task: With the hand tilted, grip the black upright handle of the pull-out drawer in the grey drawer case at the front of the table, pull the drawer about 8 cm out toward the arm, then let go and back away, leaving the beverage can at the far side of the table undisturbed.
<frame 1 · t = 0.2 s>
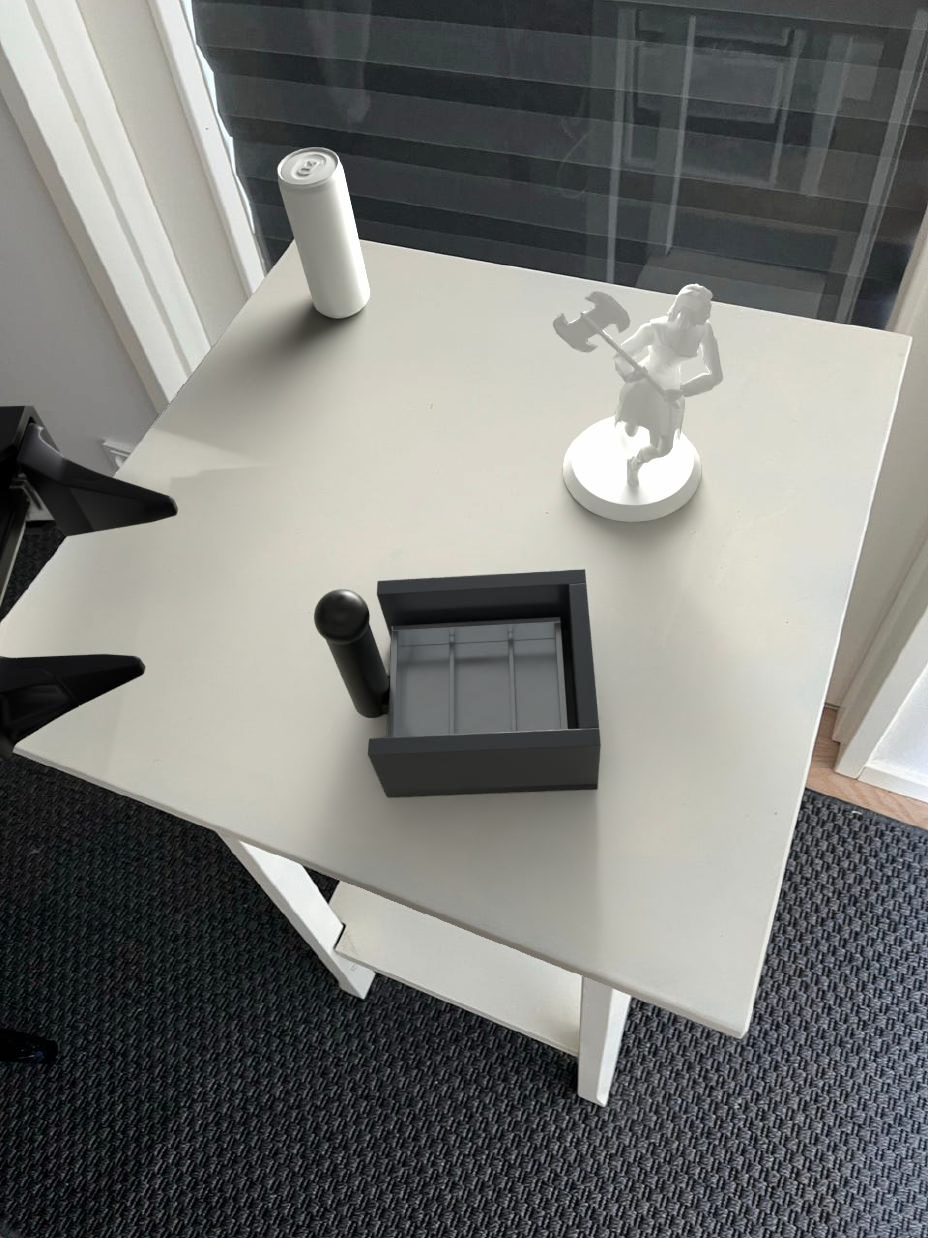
hand: (159, 581, 44), 15 cm above the table, tool horizontal, fingers open, 9 cm apart
grey drawer case: (489, 707, 56), on the table
beverage can: (343, 304, 77), on the table
pull-out drawer: (447, 652, 50), point 7 cm above the table, slide at 0.0 cm
figurine: (628, 469, 65), on the table
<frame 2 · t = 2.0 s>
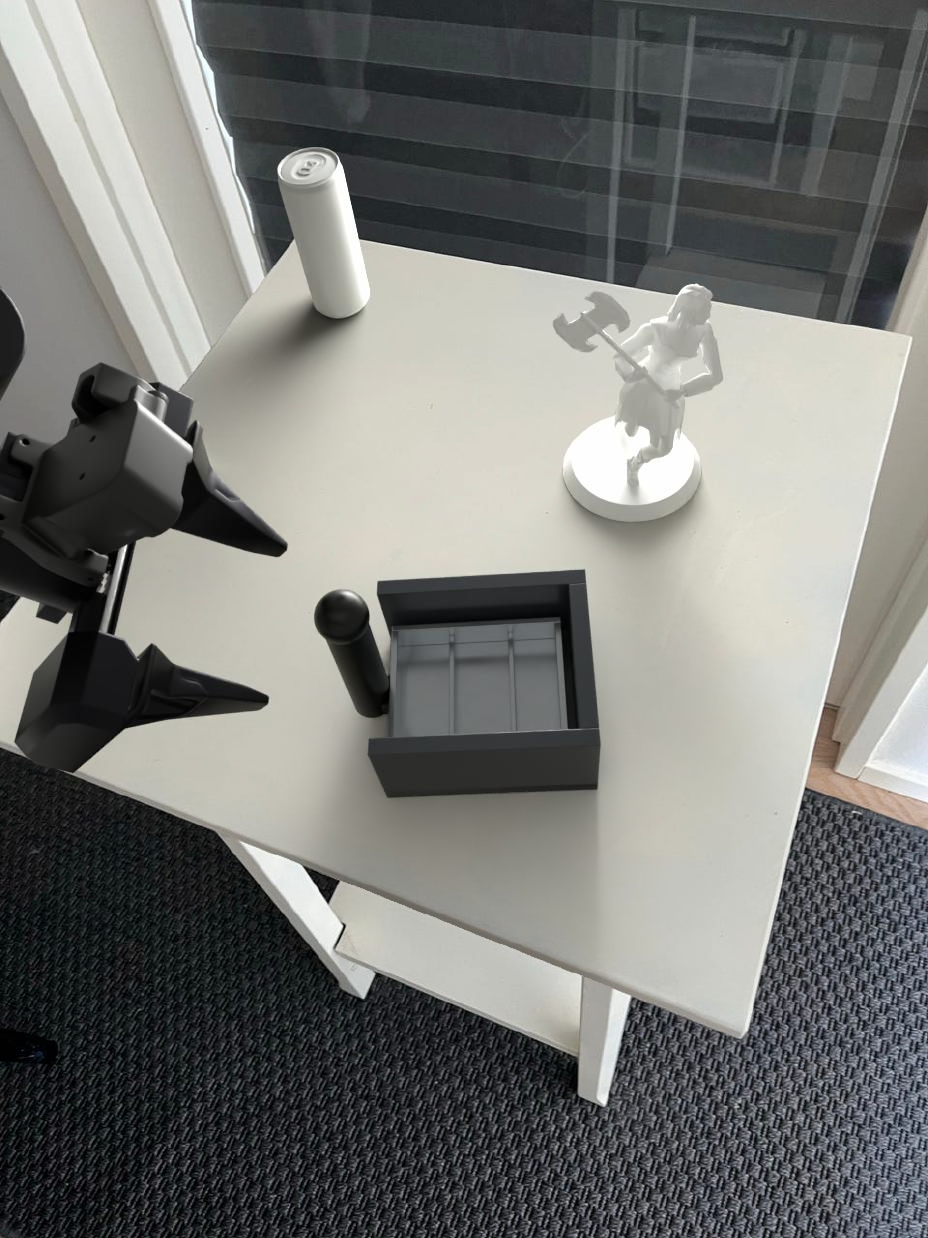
hand: (275, 623, 47), 11 cm above the table, tool tilted 45°, fingers open, 9 cm apart
nothing on the table moved.
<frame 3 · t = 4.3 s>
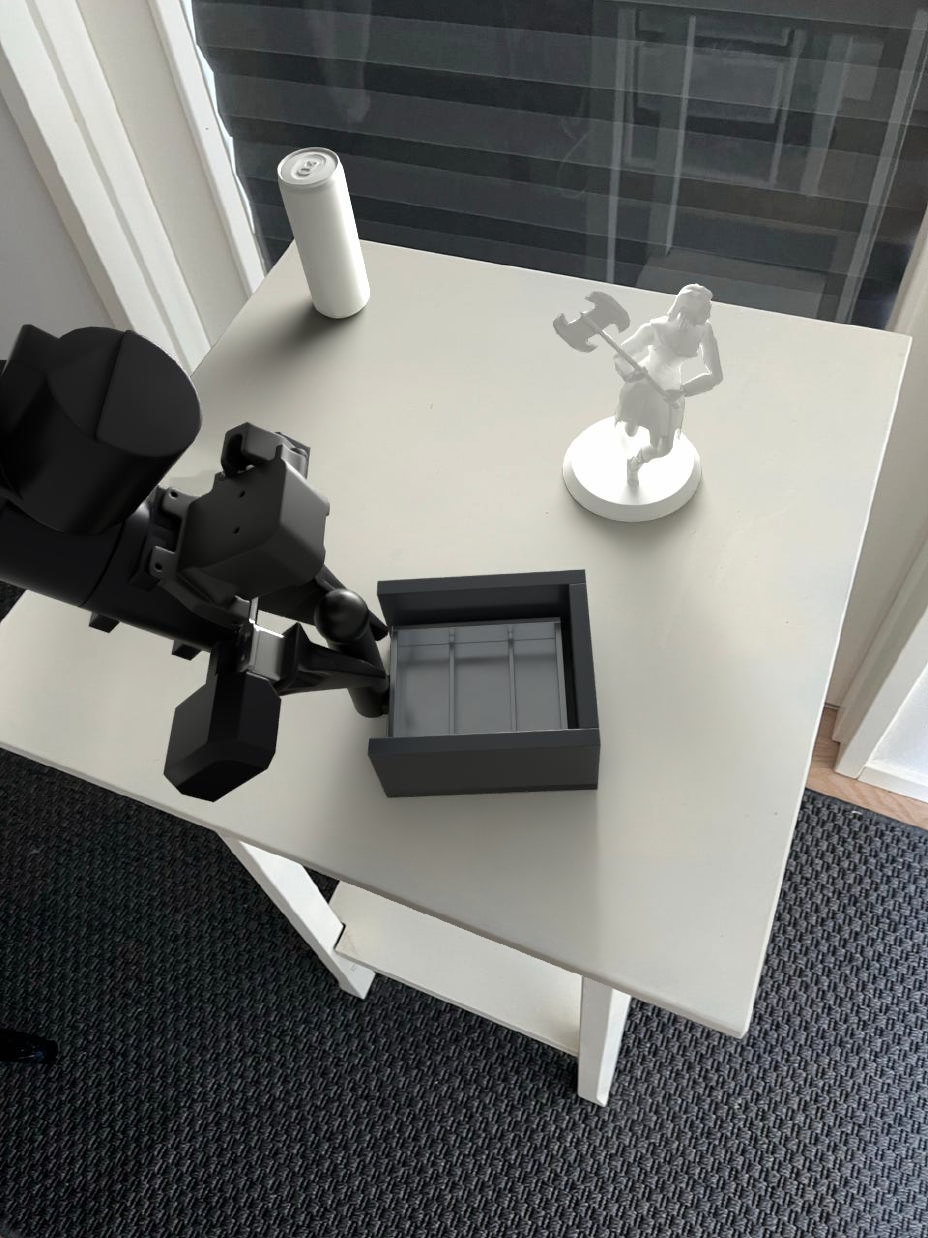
hand: (383, 657, 50), 7 cm above the table, tool tilted 45°, fingers closed on pull-out drawer, 2 cm apart
pull-out drawer: (447, 652, 50), point 7 cm above the table, slide at 0.0 cm, touching gripper
everything else where it was.
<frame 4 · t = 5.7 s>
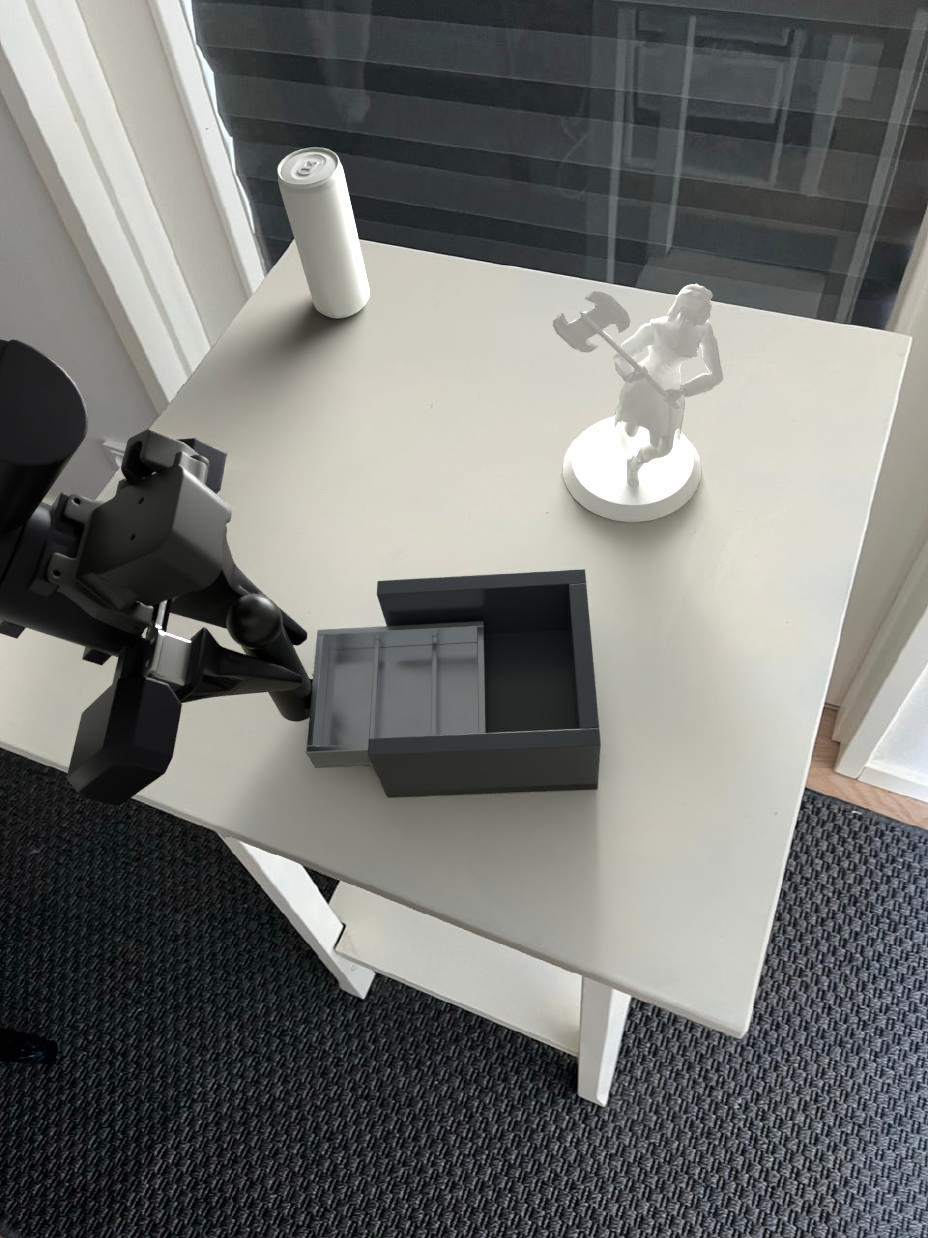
hand: (301, 661, 51), 7 cm above the table, tool tilted 45°, fingers closed on pull-out drawer, 2 cm apart
pull-out drawer: (364, 656, 50), point 7 cm above the table, slide at 4.5 cm, touching gripper
everything else where it was.
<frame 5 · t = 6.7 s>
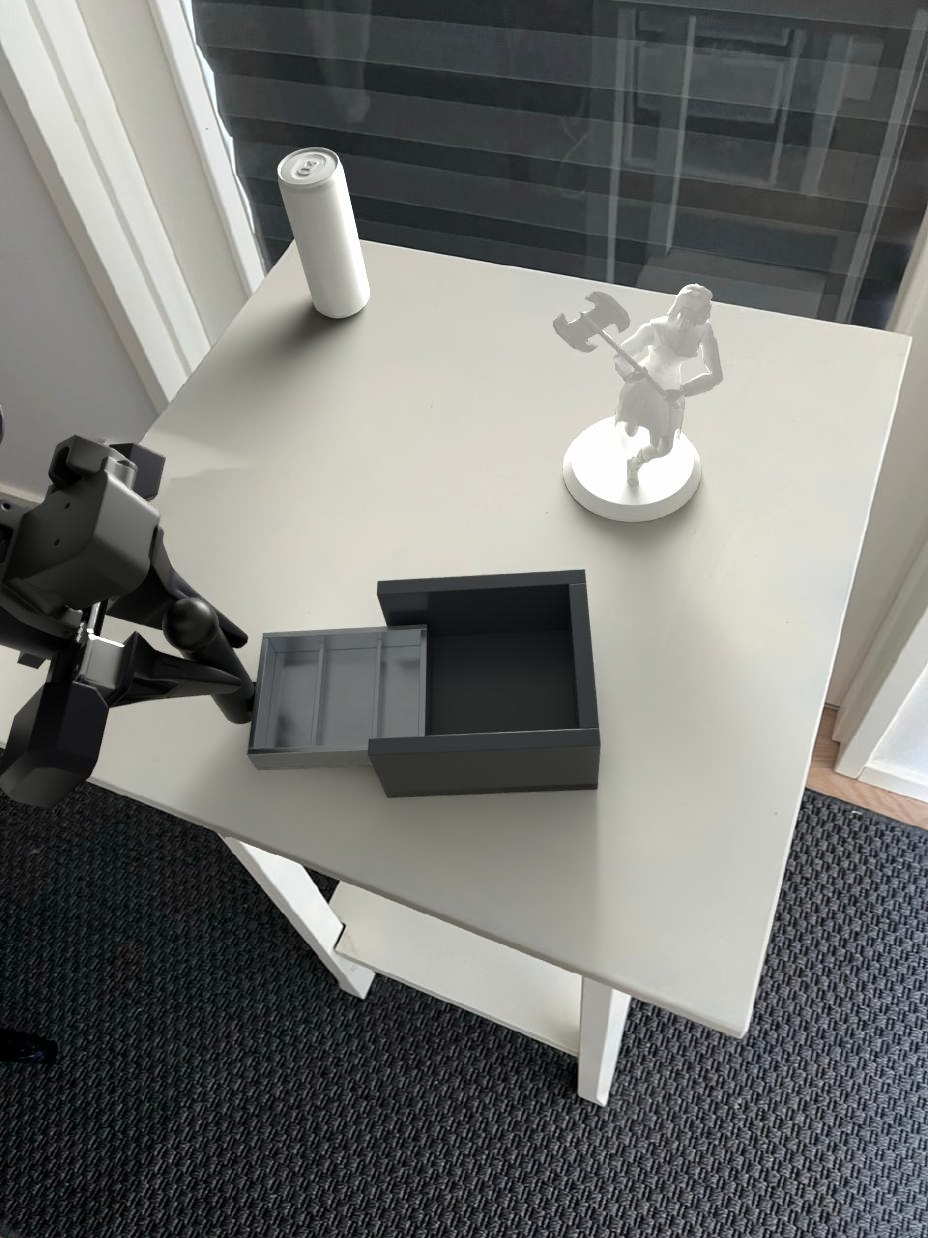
hand: (241, 664, 51), 7 cm above the table, tool tilted 45°, fingers closed on pull-out drawer, 2 cm apart
pull-out drawer: (303, 660, 51), point 7 cm above the table, slide at 7.9 cm, touching gripper
everything else where it was.
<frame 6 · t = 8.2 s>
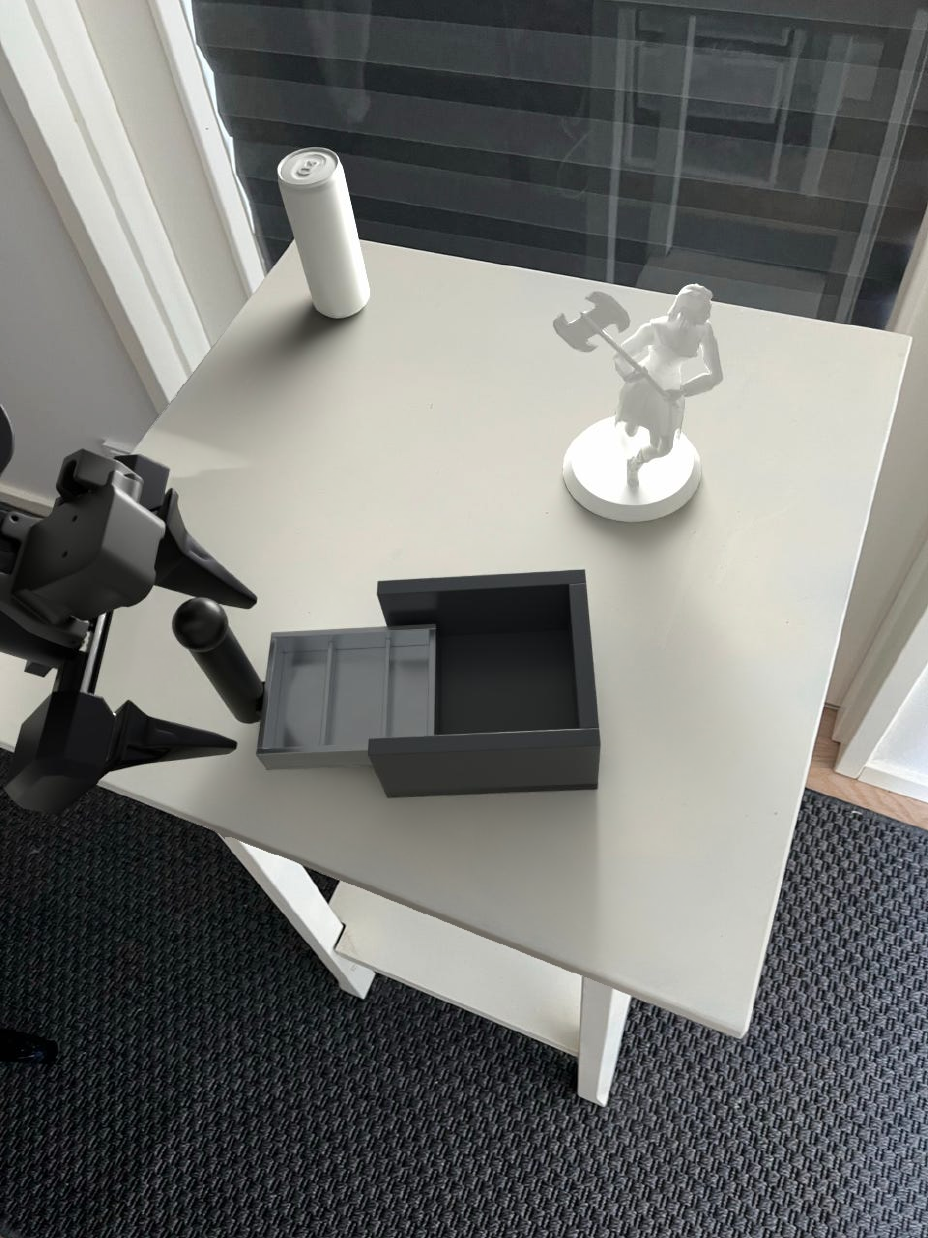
hand: (244, 672, 52), 6 cm above the table, tool tilted 45°, fingers open, 9 cm apart
pull-out drawer: (313, 659, 51), point 7 cm above the table, slide at 7.4 cm
everything else where it was.
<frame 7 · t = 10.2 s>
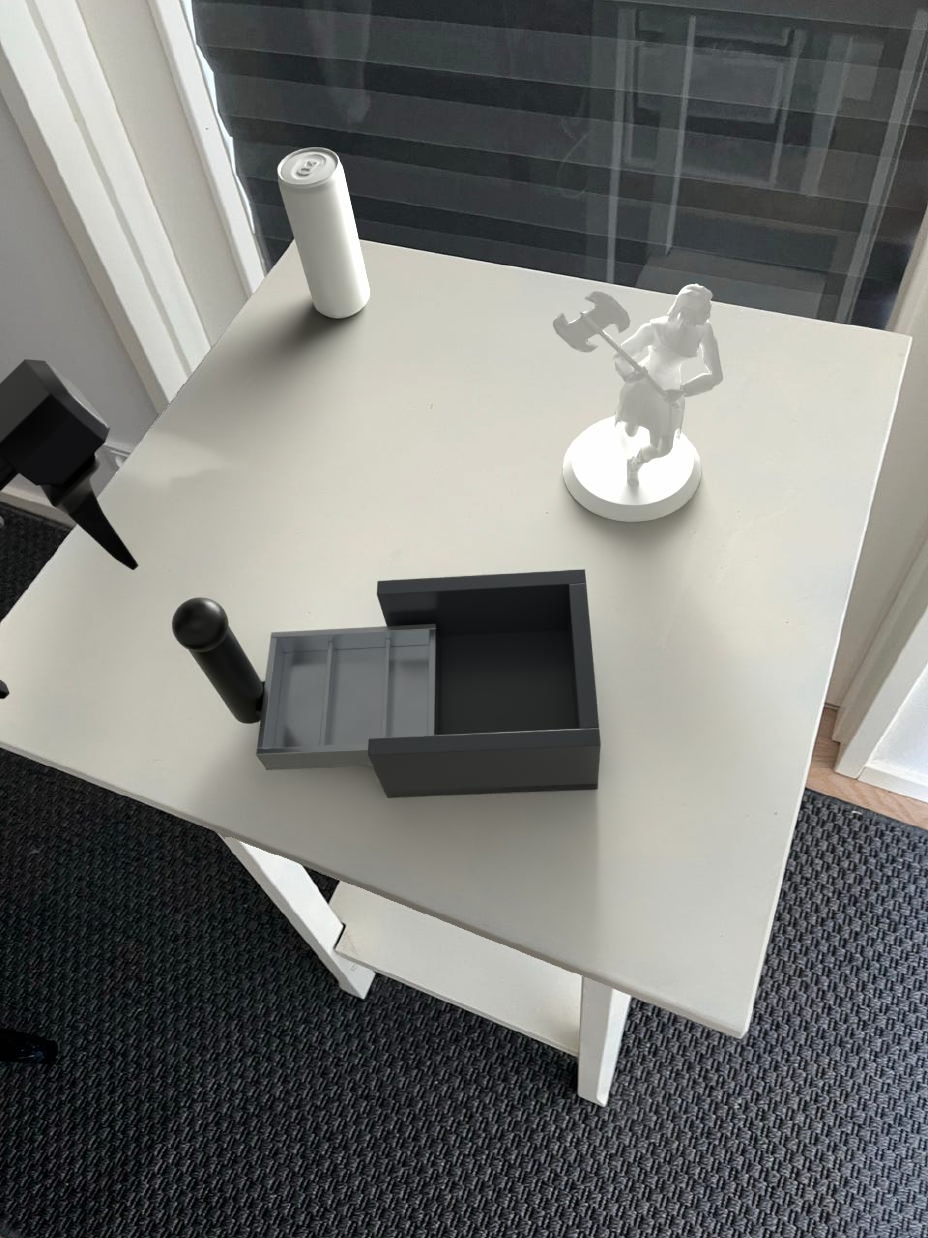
hand: (70, 627, 48), 11 cm above the table, tool tilted 20°, fingers open, 9 cm apart
nothing on the table moved.
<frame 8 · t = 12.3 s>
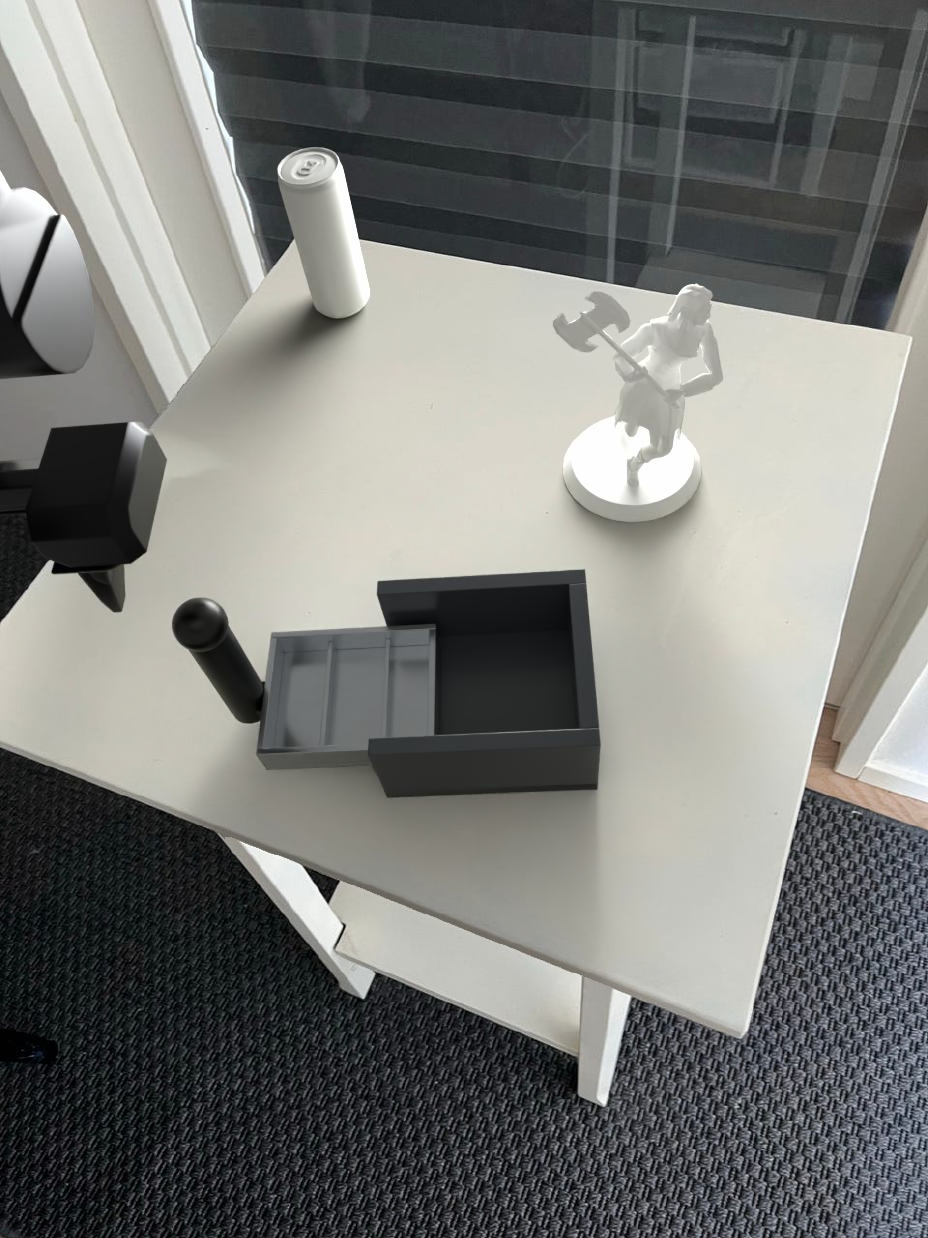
hand: (31, 610, 46), 13 cm above the table, tool pointing down, fingers open, 9 cm apart
nothing on the table moved.
at the end: pull-out drawer slide at 7.4 cm; the gripper is holding nothing; beverage can moved 0.2 cm from its start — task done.
